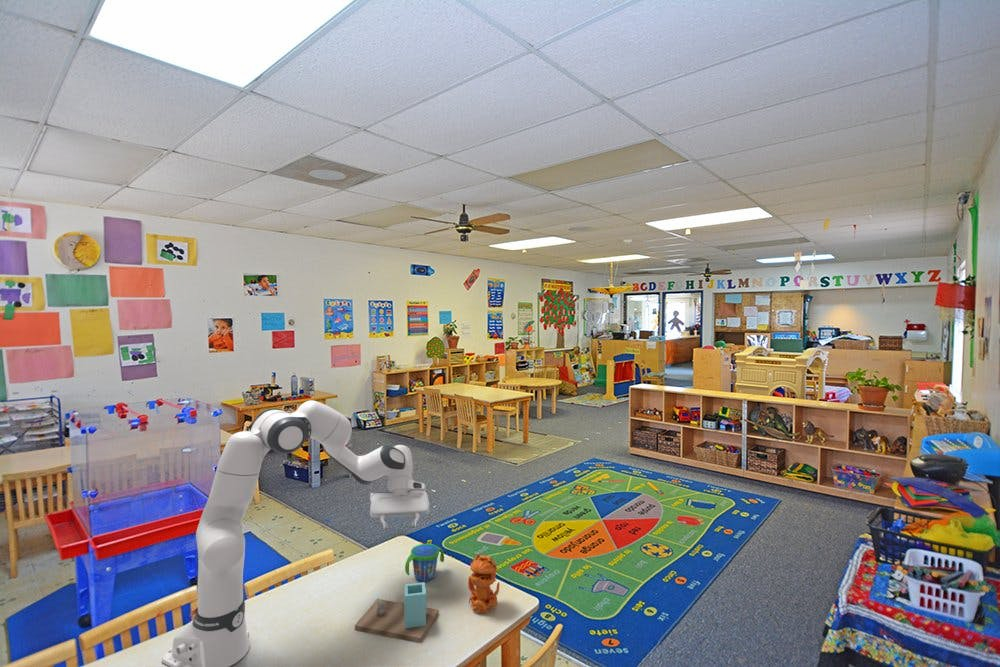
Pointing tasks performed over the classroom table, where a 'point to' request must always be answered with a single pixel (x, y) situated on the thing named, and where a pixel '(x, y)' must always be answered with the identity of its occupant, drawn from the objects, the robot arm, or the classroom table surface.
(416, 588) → the sleeve block
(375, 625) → the pin plate
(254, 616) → the classroom table surface
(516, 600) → the classroom table surface
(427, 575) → the snack cup
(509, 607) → the classroom table surface
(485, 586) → the orange animal figurine
